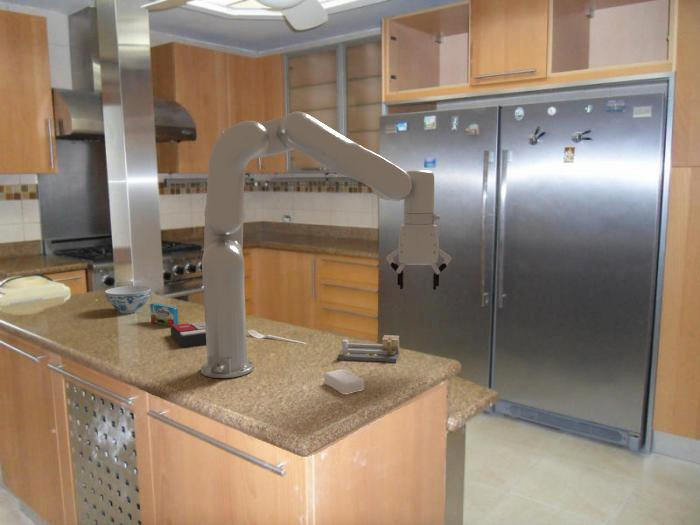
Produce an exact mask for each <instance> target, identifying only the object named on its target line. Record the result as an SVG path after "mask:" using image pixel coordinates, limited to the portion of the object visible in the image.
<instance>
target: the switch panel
mask: <svg viewBox="0 0 700 525" xmlns="http://www.w3.org/2000/svg"><path fill="white" fill-rule="evenodd" d="M399 354H400V350H399V351H398V353H396V351H392V355H387V351H382V344H373V343H354V342H353V343H349V340H348V339H343V340H341V350H340V351H339V353H338V355H337V360H338V361H339V360H341V361H355V360H357V361H358V360H359V361H360V362H376V361H386V362H385V363H397V362H396V361H398V358H399ZM357 361H356V362H357ZM359 361H358V362H359Z"/></svg>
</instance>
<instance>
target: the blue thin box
mask: <svg viewBox="0 0 700 525" xmlns="http://www.w3.org/2000/svg"><path fill="white" fill-rule="evenodd" d="M149 305H150V306H149V308H150V322H151V323H154V322H155V323H154V324H158V323H159V325H162V324H163V325H164V326H167V325H168V326H167V327H171V326H172V327H173V325H179V314H178V311H179V310H178V307H177V306H172V305H168V304H162V303H156V302H152V303H150V304H149ZM163 325H162V326H163Z"/></svg>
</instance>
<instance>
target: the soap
mask: <svg viewBox="0 0 700 525" xmlns="http://www.w3.org/2000/svg"><path fill="white" fill-rule="evenodd" d="M323 377H324V380H323V381H324V385H326V384H327V385H329V386H331V387H333V388H335V389H336V390H338V391H340V392H342V393H350V392H354V391H358V390H362V389H364V390H365V380H364V378H362V377H360V376H358V375H357V374H355V373H352V372H350V371H348V370H346V369H345V368H341V369H337V370H331V371H327V372H324V376H323ZM327 385H326V386H327ZM329 386H328V387H329ZM331 387H330V388H331ZM333 388H332V389H333ZM336 390H335V391H336ZM338 391H337V392H338ZM340 392H339V393H340Z"/></svg>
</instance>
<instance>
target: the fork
mask: <svg viewBox="0 0 700 525" xmlns="http://www.w3.org/2000/svg"><path fill="white" fill-rule="evenodd" d="M247 332H248V334H249V335H250V336H251V337H252V338H254V339H255V338H256V339H263V340H264V339H271V340H276V341H283V342H289V343H294V344H295V343H296V344H303V345H306V344H307V342H303V341H300V340H295V339H289V338H285V337H281V336H275V335H270V334H267V335H264V334H261V333H259V332H257V331H255V330H254V329H253V328H252V329H250V330H246V333H247Z"/></svg>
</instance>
